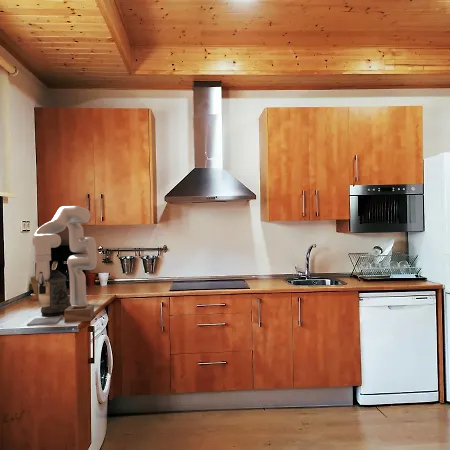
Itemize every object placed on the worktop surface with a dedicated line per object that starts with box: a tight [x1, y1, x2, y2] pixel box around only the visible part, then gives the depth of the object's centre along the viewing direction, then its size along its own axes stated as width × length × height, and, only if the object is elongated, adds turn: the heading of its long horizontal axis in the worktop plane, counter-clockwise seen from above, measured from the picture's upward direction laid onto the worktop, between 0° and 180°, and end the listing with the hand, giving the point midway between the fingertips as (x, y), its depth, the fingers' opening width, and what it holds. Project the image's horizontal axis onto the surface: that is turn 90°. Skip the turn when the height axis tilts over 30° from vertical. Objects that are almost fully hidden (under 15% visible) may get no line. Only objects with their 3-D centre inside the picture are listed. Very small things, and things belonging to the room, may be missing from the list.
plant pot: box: [30, 275, 39, 301], centre depth 303 cm, size 15×15×16 cm
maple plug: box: [38, 282, 50, 308], centre depth 230 cm, size 5×5×12 cm
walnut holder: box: [63, 304, 95, 323], centre depth 235 cm, size 13×13×6 cm
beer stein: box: [37, 269, 72, 318], centre depth 250 cm, size 16×19×25 cm
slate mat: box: [26, 316, 63, 327], centre depth 231 cm, size 14×14×1 cm
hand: (44, 292), depth 230 cm, fingers closed on maple plug, 5 cm apart
